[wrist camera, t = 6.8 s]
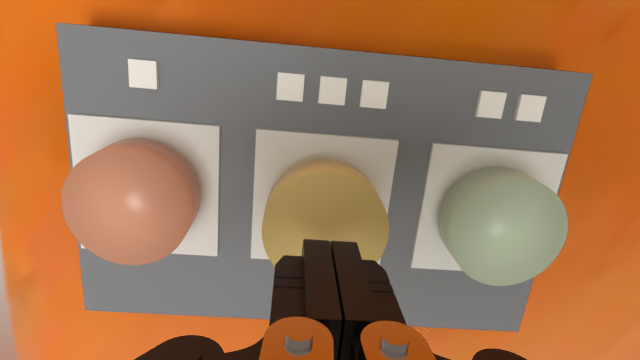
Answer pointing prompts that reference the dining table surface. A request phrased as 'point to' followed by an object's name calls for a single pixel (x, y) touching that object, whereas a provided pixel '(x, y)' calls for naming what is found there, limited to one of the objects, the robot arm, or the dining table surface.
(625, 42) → the dining table surface
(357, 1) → the dining table surface
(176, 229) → the terracotta button
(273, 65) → the button panel
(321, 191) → the ochre button
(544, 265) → the sage button
